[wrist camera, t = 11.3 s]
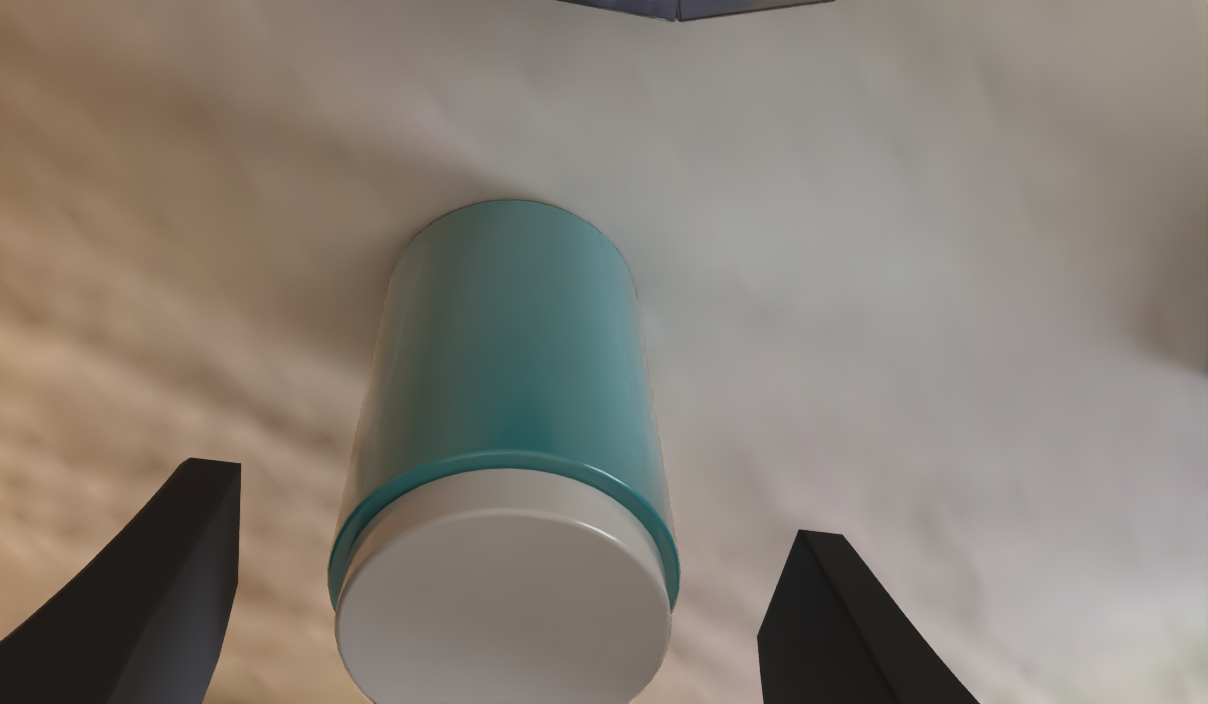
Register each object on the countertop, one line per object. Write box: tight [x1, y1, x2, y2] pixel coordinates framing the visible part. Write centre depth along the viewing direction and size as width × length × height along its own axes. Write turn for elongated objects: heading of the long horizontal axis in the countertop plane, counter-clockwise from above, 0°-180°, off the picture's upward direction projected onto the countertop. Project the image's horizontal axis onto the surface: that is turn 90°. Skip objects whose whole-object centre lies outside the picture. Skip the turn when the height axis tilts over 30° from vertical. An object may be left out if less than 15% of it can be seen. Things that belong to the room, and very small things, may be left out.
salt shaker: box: [328, 200, 681, 704], centre depth 16 cm, size 4×4×8 cm
